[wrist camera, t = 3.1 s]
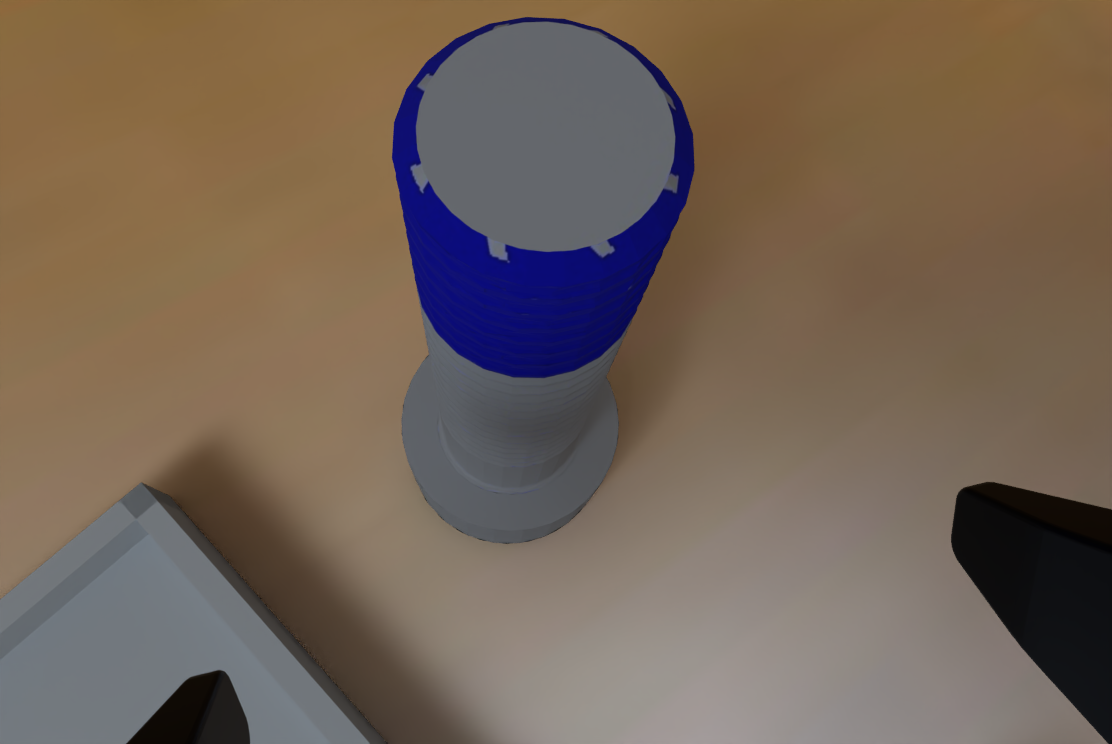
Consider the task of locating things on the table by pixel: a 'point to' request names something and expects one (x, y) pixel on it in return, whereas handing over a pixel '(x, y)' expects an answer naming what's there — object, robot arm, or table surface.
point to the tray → (153, 639)
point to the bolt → (530, 261)
